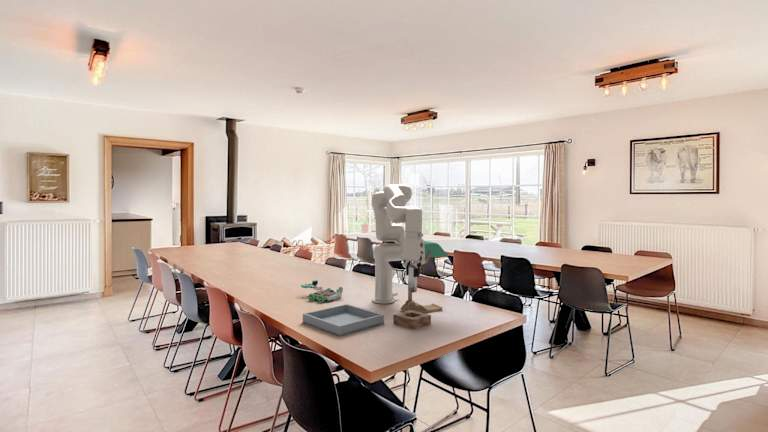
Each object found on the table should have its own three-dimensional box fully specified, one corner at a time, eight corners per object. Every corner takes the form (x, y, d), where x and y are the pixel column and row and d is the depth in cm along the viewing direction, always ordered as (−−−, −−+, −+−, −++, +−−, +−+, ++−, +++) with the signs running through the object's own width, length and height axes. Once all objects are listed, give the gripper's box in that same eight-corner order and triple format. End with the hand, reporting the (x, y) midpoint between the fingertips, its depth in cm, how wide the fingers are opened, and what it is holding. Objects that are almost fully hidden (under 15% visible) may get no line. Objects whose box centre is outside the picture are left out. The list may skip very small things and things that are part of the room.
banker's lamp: (397, 309, 218) (398, 240, 216) (431, 304, 227) (432, 239, 226) (413, 316, 204) (414, 244, 202) (448, 312, 213) (450, 242, 212)
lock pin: (411, 290, 195) (412, 264, 195) (418, 291, 192) (419, 265, 192) (406, 291, 192) (406, 265, 192) (412, 292, 190) (413, 266, 189)
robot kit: (311, 292, 255) (312, 276, 254) (346, 297, 243) (346, 281, 242) (290, 298, 238) (291, 281, 238) (327, 304, 226) (327, 287, 226)
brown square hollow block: (410, 318, 201) (410, 309, 201) (430, 323, 193) (430, 315, 193) (393, 323, 193) (393, 314, 193) (413, 329, 184) (413, 320, 184)
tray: (346, 311, 211) (346, 303, 211) (384, 323, 193) (384, 314, 192) (302, 322, 192) (302, 313, 192) (339, 336, 174) (339, 326, 174)
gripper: (433, 236, 188) (432, 277, 189) (405, 233, 200) (404, 272, 201) (422, 237, 183) (421, 279, 183) (394, 234, 194) (393, 274, 195)
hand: (412, 275), depth 192 cm, fingers closed on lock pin, 4 cm apart
